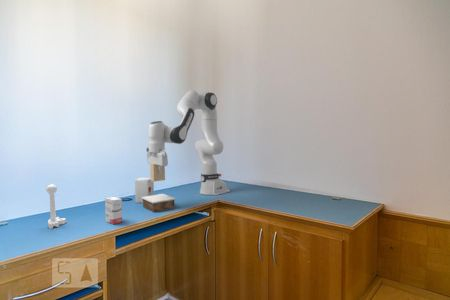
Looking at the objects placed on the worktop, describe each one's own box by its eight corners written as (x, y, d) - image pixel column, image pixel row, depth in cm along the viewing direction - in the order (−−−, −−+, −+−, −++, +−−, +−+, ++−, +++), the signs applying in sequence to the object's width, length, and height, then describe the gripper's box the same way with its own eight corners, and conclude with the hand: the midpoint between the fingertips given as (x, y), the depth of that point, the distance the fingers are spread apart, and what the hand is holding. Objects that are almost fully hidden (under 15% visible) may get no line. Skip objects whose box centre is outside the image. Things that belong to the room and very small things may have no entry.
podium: (163, 203, 183) (163, 193, 182) (175, 208, 170) (175, 198, 170) (141, 206, 174) (141, 197, 174) (153, 212, 161) (153, 202, 161)
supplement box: (148, 203, 182) (147, 179, 181) (135, 202, 184) (134, 179, 183) (154, 200, 191) (153, 177, 190) (141, 199, 193) (141, 177, 192)
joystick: (49, 222, 146) (47, 183, 145) (66, 220, 150) (64, 181, 148) (47, 229, 136) (45, 186, 135) (65, 226, 140) (63, 185, 138)
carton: (161, 179, 175) (161, 162, 174) (165, 180, 171) (164, 163, 171) (150, 180, 170) (150, 163, 170) (153, 181, 167) (153, 164, 166)
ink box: (123, 222, 145) (122, 198, 144) (113, 224, 141) (112, 200, 141) (114, 218, 151) (113, 196, 150) (105, 221, 147) (104, 198, 146)
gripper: (170, 149, 163) (170, 173, 164) (154, 148, 179) (155, 170, 180) (159, 150, 160) (160, 175, 160) (144, 148, 176) (145, 171, 176)
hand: (157, 172), depth 171 cm, fingers closed on carton, 4 cm apart
